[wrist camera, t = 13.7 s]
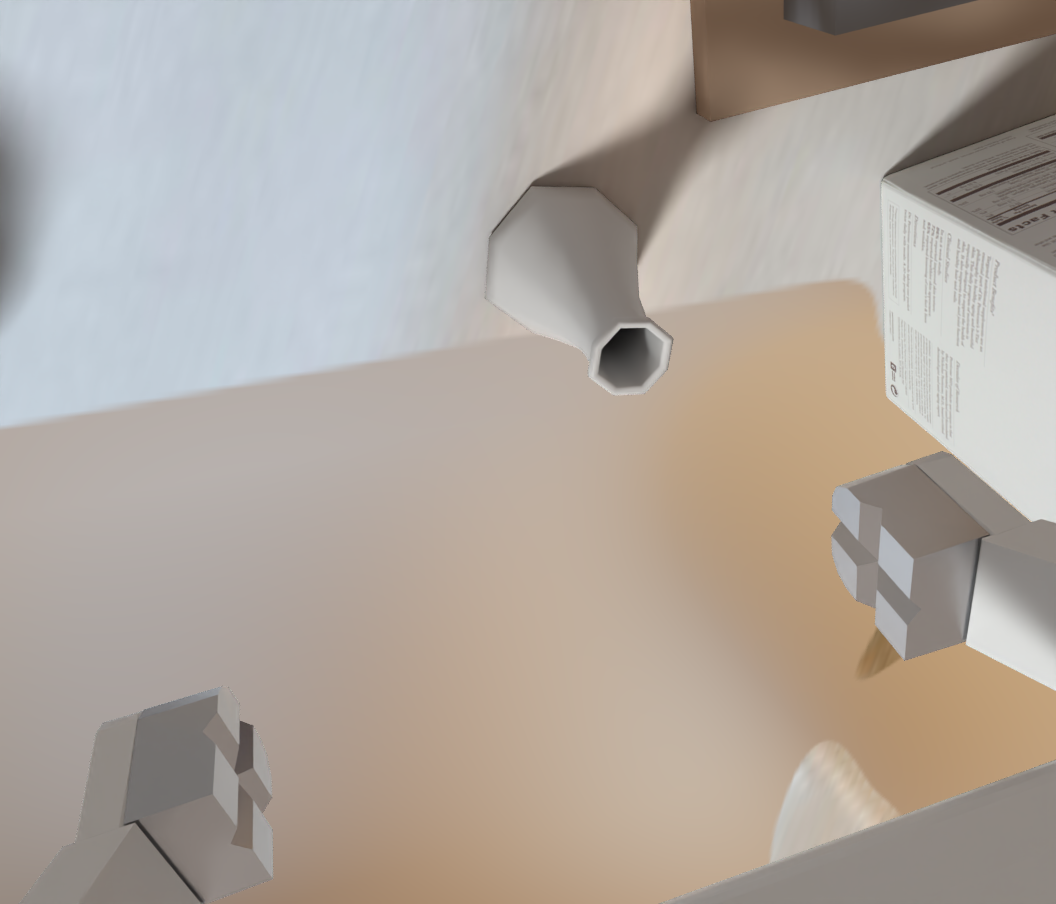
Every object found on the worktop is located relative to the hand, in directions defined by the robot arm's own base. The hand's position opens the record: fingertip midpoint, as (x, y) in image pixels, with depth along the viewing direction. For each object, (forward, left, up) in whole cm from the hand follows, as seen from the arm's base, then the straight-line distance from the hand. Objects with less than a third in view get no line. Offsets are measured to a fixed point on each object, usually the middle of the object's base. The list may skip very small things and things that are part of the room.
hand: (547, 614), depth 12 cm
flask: (+9, +7, -29) cm, 31 cm away
